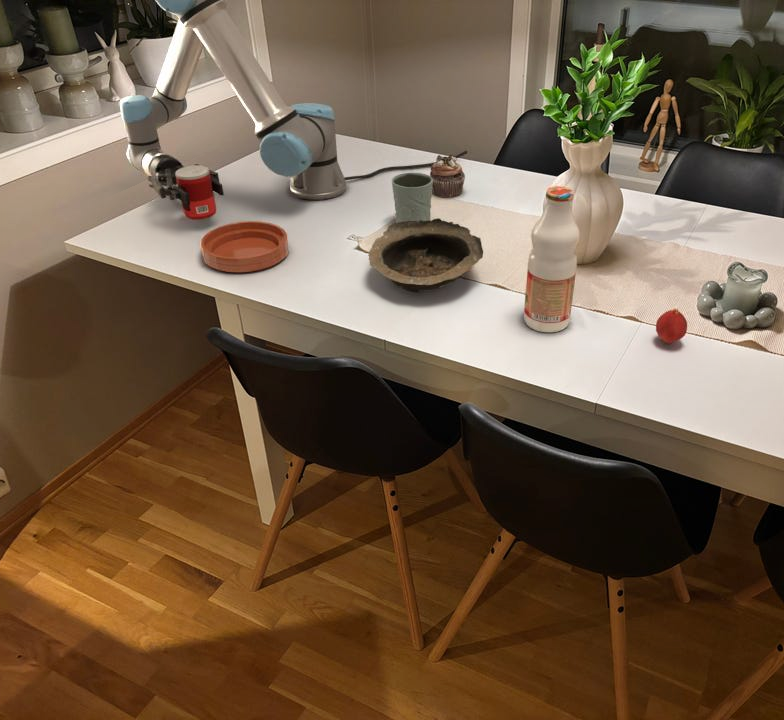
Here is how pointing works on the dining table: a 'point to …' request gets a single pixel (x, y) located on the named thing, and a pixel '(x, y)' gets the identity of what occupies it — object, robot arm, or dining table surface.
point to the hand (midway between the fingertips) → (204, 194)
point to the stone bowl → (425, 253)
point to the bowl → (244, 246)
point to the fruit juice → (552, 264)
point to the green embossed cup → (412, 196)
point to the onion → (671, 326)
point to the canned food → (197, 191)
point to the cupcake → (447, 177)
